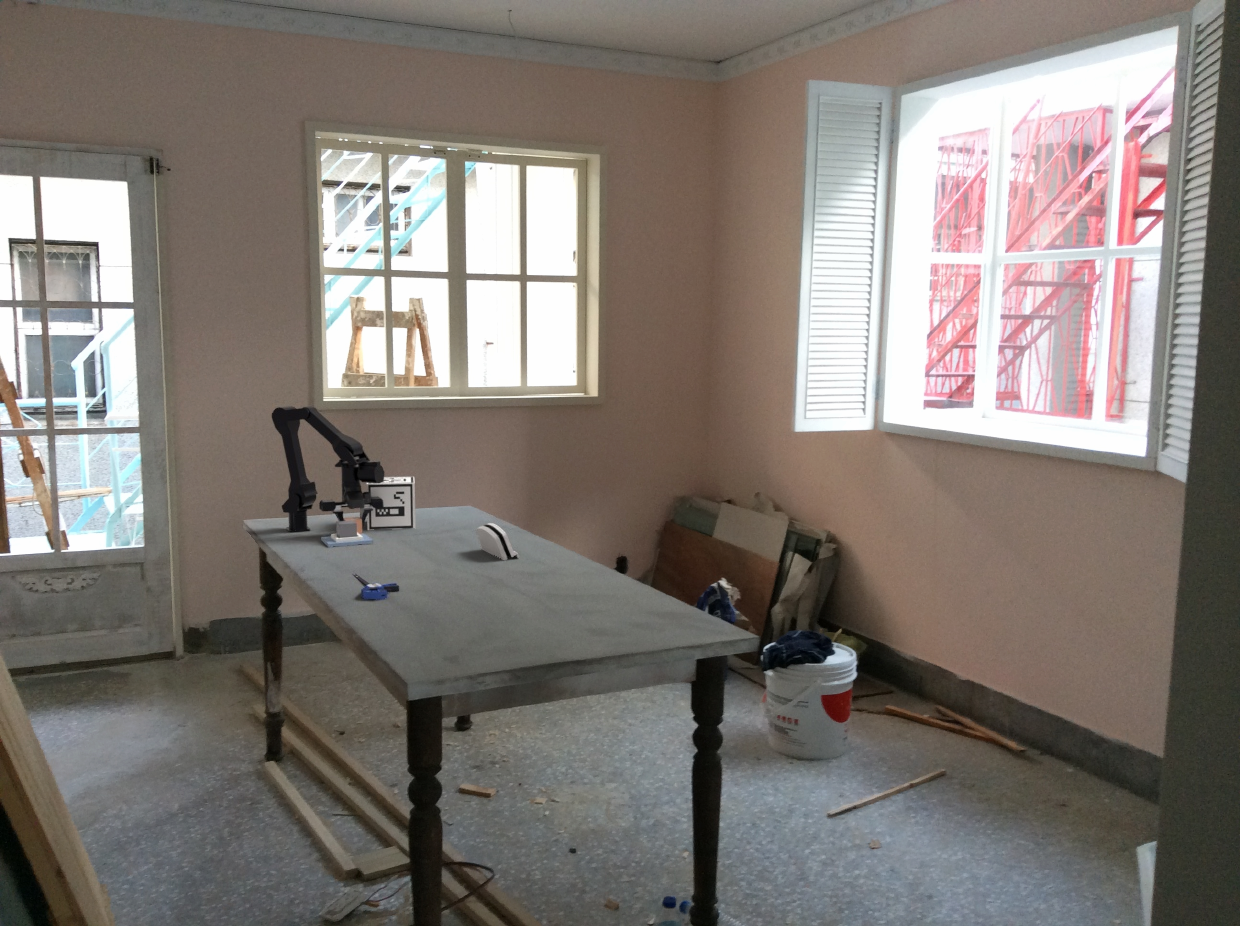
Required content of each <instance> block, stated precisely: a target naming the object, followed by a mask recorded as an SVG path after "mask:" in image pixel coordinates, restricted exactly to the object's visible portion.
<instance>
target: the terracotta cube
mask: <svg viewBox="0 0 1240 926" xmlns="http://www.w3.org/2000/svg"><path fill="white" fill-rule="evenodd" d="M343 519H344V521H351V520H353V521H355V522H356V523H357V532H358V533H359V534H363V529H362V519H361V518H360V516H351V517H349V516H348V517H343Z"/></svg>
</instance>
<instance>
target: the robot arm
mask: <svg viewBox="0 0 1240 926" xmlns="http://www.w3.org/2000/svg"><path fill="white" fill-rule="evenodd" d="M271 420H272V423H273V426H274V428H275V429H276V431H277V433H278V434H279V435H280V436H281V439H282V445H283V449H284V454H285V458H286V465H287V469H288V473H289V479H290V482H289V486H288V490H287V492H288V495H287V496H288V498H287V500H286V501H284V503H282V505H281V509H282V513H287V517H288V518H287V519H288V526H286V527H285V529H286V530H287V531H288V532H289V533H293V532H305V531H311V528H310V527H309V526H308V510H312V509H313V506H314V503H315V502H316V500H317V495H318V491H317V489H316V482H315V481H310V479H309V478H308V477H307V472H306V468H305V467H306V466H305V464H304V463H305V462H304V459H303V458H304V457H303V453H302V448H301V443H300V438H299V430H300V427H301V426H300V425H301V420H304V421H305V422H307V424H308V425H309V426H311V428H313V429H314V430H315V431H317V432H318V433H319V434H320V435H321V436H322V437H323V438H324V439H325V440H326V441H327V442H328V443H329V444H330V445H331V447H332V449H333V452H334V453H335V454H336V456H337V457H338V458H339V460H338V461H337V462H336V463H335V464H334V467H335V468H340V473H341V474H340V475H341V476H340V479H341V480H340V481H341V487H340V488H341V501H335V500H334V499H321V500H320V501H319V503H318V504H319V506H318V507H319V510H320V511H321V512H331V514H335V516H336V518H337V522H338V521H344V519H343V518H344V511H343V510H342V508H348V509H349V510H354V509H359V518H361V519H362V530H363V528H364V525H365V521H366V520H367V515H368V513H369V512H370V511H373V509H372V507H373V508H382V507H384V504H383V500H382V499H381V498H380V497H378V496H377V497H371V494H370V492H367V491H362V484H361V483H364V484H365V483H366V484H367V483H381V482H382V481H383V479H384V477H385V470H384V468H383V466H382V464H381V461H380V460H375V461H373V460H372V461H371V460H370V458H369V457H368V455H367V453H366V452H365V449H363V445H362V444H361V442H359V440H356V439H355V438H354V437H352V436H349V435H347V434H344V433H342V431H340V430H339V429H338V428H337V427H336V426H335V425H334V424H333V423H331V421H329V420H328V419H327V418H326V417H325V416H324V415H322V413H320V412H319V411H318V409H317V408H316V407H314V406H303V407H301V408H299V407H298V408H296V407H295V406H293V405H292V406H291V405H289V406H278V407H275V409H274V410H273V411H272V413H271Z"/></svg>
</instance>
